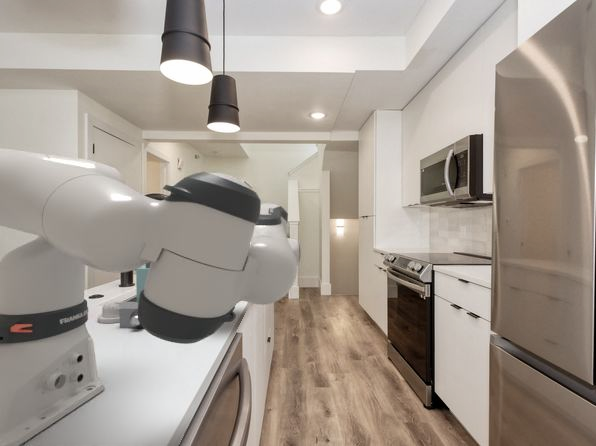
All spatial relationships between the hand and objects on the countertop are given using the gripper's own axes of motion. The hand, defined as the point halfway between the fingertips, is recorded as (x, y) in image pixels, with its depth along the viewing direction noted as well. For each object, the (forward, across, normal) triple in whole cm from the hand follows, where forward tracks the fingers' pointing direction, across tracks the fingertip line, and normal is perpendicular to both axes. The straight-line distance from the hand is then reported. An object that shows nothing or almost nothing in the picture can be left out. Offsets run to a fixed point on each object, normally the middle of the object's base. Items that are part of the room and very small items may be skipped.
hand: (192, 252), depth 89 cm
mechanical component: (+23, +3, -20) cm, 30 cm away
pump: (+12, 0, -14) cm, 18 cm away
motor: (+12, -1, -19) cm, 22 cm away
